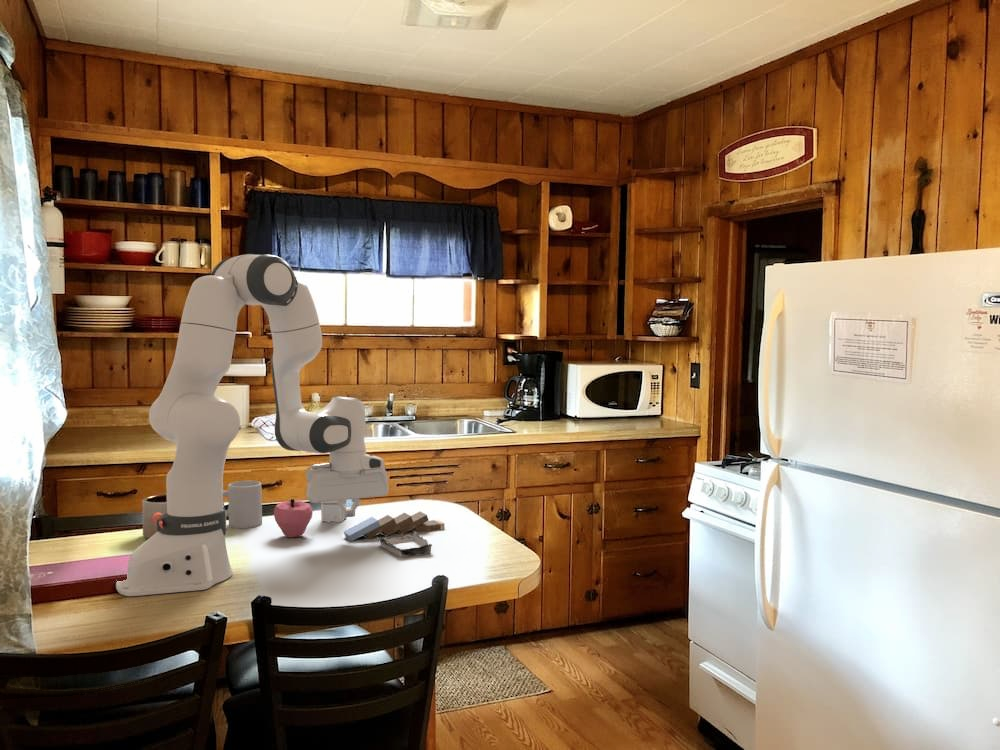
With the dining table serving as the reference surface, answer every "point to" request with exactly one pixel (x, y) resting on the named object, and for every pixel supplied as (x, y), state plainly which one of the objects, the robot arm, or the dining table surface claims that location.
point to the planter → (152, 512)
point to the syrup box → (331, 511)
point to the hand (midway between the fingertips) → (348, 516)
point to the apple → (293, 517)
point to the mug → (244, 504)
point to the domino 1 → (361, 528)
